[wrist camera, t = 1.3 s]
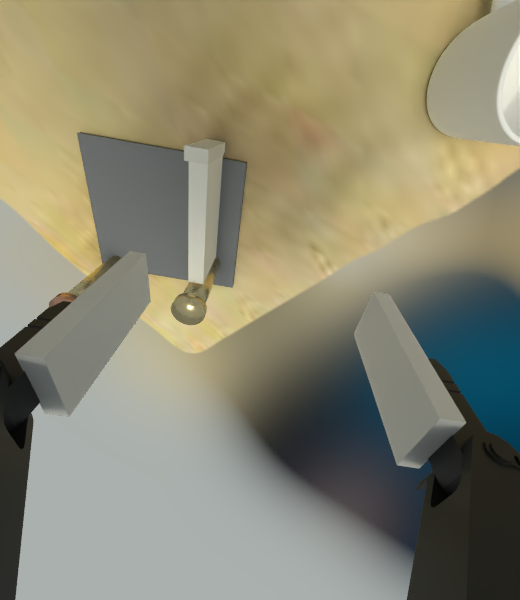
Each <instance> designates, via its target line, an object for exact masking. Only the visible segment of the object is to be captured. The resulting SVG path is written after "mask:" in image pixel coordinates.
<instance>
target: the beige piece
mask: <svg viewBox="0 0 520 600" xmlns="http://www.w3.org/2000/svg"><path fill="white" fill-rule="evenodd" d="M224 154H225V142H222V141H216V140H211V139H204V140H201V141H197V142H194V143H190V144H187V145H184V161H189V201H188V282H193V283H199V284H204V281H205V279H206V277H207V275H208V273H209V271H210V269H211V266H212V264H213V262H214V260H215V258H216V251H217V236H218V221H219V206H220V191H221V176H222V161H223V155H224Z"/></svg>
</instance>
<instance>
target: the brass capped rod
mask: <svg viewBox="0 0 520 600" xmlns="http://www.w3.org/2000/svg"><path fill="white" fill-rule="evenodd" d="M120 259H121V257H119V256H112V257H110V258H109V259H108V260H107V261H106V262H104V263H103V264H102V265H101V266H100V267H98V268H97V269H96V270H95V271H93V272H92V273H91V274H90V275H89V276H87V277H86V278H85V279H84V280H83V281H81V282H80V283H79V284H78V285H76V286H75V287H74V288H73V289H72V290H70V291H69V292H68V293H61V294H58V295H57V296H56V297H55V298H54V299H52V300H51V301H50V303H49V307H51V306H54V305H56V304H58V303H60V302H62V301H67V302H73V301H74V300H75V299H76V298H77V297H78V296H80V295H81V294H82V293H83V292H84V291H85V290H86V289H87V288H89V287H90V286H91V285H92V284H93V283H94V282H95V281H96V280H98V279H99V278H100V277H101V276H102V275H103V274H104V273H105V272H107V271H108V270H109V269H110V268H111V267H112V266H113V265H114V264H115V263H117V262H118V261H119V260H120Z"/></svg>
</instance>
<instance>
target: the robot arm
mask: <svg viewBox="0 0 520 600" xmlns="http://www.w3.org/2000/svg"><path fill="white" fill-rule="evenodd" d="M149 303H150V290H149V279H148V268H147V258H146V253H140V252H134V251H129V252H128V253H127V254H126V255H124V256H123V257H122V258H121V259H120V260H119V261H118V262H117V263H115V264H114V265H113V266H112V267H111V268H110V269H109V270H108V271H107V272H105V273H104V274H103V275H102V276H101V277H100V278H99V279H98V280H96V281H95V282H94V283H93V284H92V285H91V286H90V287H89V288H87V289H86V290H85V291H84V292H83V293H82V294H81V295H80V296H78V297H77V298H76V299H75V300H74V301H73V302H67V301H62V302H60V303H58V304H56V305H54V306H51V307H49V308H48V309H46V310H45V311H44V312H43V313H42V314H40V315H39V316H38V317H37V319H34V320H33V321H32V322H31V323H30V324H28V327H25V328H24V329H23V330H21V331H20V332H19V333H17V334H16V335H15V336H14V337H13V338H11V339H10V340H9V341H8V342H7V343H5V344H4V345H3V346H2V347H0V600H15V595H16V586H17V577H18V567H19V557H20V547H21V537H22V528H23V518H24V508H25V499H26V489H27V479H28V470H29V460H30V450H31V440H32V429H33V417H32V414H31V412H32V411H33V410H34V409H35V407H36V406H37V405H38V404H39V403H40V404H41V407H42V409H43V411H44V413H45V414H52V415H58V416H65V417H69V416H70V415H71V414H72V412H73V411H74V409H75V408H76V406H77V405H78V404H79V402H80V401H81V399H82V398H83V397H84V395H85V394H86V392H87V391H88V389H89V388H90V387H91V385H92V384H93V382H94V381H95V379H96V378H97V376H98V375H99V374H100V372H101V371H102V369H103V368H104V367H105V365H106V364H107V362H108V361H109V360H110V358H111V357H112V355H113V354H114V352H115V351H116V350H117V348H118V347H119V345H120V344H121V343H122V341H123V340H124V338H125V337H126V335H127V334H128V333H129V331H130V329H131V328H132V327H133V325H134V324H135V323H136V321H137V320H138V318H139V317H140V316H141V314H142V313H143V311H144V310H145V308H146V307H147V306H148V304H149ZM354 336H355V339H356V342H357V346H358V348H359V352H360V354H361V357H362V360H363V364H364V367H365V370H366V373H367V375H368V378H369V382H370V385H371V388H372V391H373V394H374V396H375V400H376V403H377V406H378V409H379V412H380V415H381V418H382V421H383V424H384V427H385V430H386V433H387V436H388V439H389V442H390V445H391V448H392V451H393V454H394V457H395V460H396V463H397V465H399V466H406V467H413V468H420V467H421V466H422V465H423V464H424V463H425V462H426V461H427V460H428V459H429V461H430V464H431V466H432V469H433V471H432V472H431V473H430V474H429V475H428V476H427V477H426V478H425V479H423V480H422V481H421V482H420V483H419V484H418V487H417V489H418V490H421V489H423V488H424V487H425V486H426V485H427V486H426V491H425V497H424V503H423V509H422V515H421V521H420V526H419V532H418V538H417V545H416V550H415V556H414V561H413V567H412V573H411V579H410V585H409V590H408V597H407V600H520V455H519V454H518V452H517V451H516V450H515V449H514V448H513V447H512V446H511V445H510V444H509V443H507V442H506V441H504V440H503V439H501V438H500V437H499V436H496V435H494V434H492V433H489V432H487V431H486V430H485V429H484V427H483V425H482V424H481V422H480V421H479V419H478V418H477V416H476V415H475V413H474V412H473V410H472V408H471V407H470V405H469V404H468V402H467V401H466V399H465V398H464V396H463V395H462V394H460V390H459V388H458V387H457V385H456V384H454V381H453V379H452V378H451V376H450V375H449V373H448V372H447V370H446V369H445V368H444V367H443V366H442V365H441V364H439V363H438V362H437V361H436V360H435V359H429V358H427V356H426V355H425V353H424V351H423V350H422V348H421V346H420V345H419V343H418V341H417V340H416V338H415V336H414V335H413V333H412V331H411V330H410V328H409V327H408V325H407V324H406V322H405V320H404V318H403V317H402V315H401V313H400V311H399V310H398V308H397V307H396V305H395V303H394V302H393V300H392V298H391V297H390V295H389V294H385V293H379V292H373V294H372V296H371V298H370V300H369V302H368V304H367V307H366V309H365V311H364V313H363V316H362V317H361V320H360V322H359V324H358V326H357V328H356V330H355V332H354Z"/></svg>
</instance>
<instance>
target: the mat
mask: <svg viewBox="0 0 520 600" xmlns="http://www.w3.org/2000/svg"><path fill="white" fill-rule="evenodd" d="M77 135H78V140H79V145H80V150H81V155H82V160H83V165H84V170H85V176H86V181H87V186H88V191H89V196H90V201H91V206H92V212H93V217H94V222H95V227H96V232H97V237H98V242H99V247H100V253H101V258H102V263H104V262H106V261H107V260H108V259H109V258H110V257H112V256H119V257H121V258H122V257H123V256H124V255H126V254H127V253H128V252H129V251H134V252H140V253H146V258H147V268H148V274H153V275H159V276H165V277H171V278H177V279H183V280H188V201H189V161H184V151H181V150H175V149H170V148H164V147H159V146H153V145H147V144H142V143H136V142H131V141H125V140H119V139H114V138H108V137H103V136H97V135H91V134H86V133H77ZM246 166H247V162H242V161H237V160H231V159H226V158H223V161H222V176H221V191H220V206H219V221H218V236H217V251H216V257H217V258H218V259H219V261H220V269H219V271H218V273H217V276H216V278H215V281H214V283H213V284H214V285H220V286H226V287H233V281H234V273H235V264H236V255H237V246H238V237H239V228H240V219H241V210H242V202H243V193H244V184H245V175H246Z"/></svg>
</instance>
